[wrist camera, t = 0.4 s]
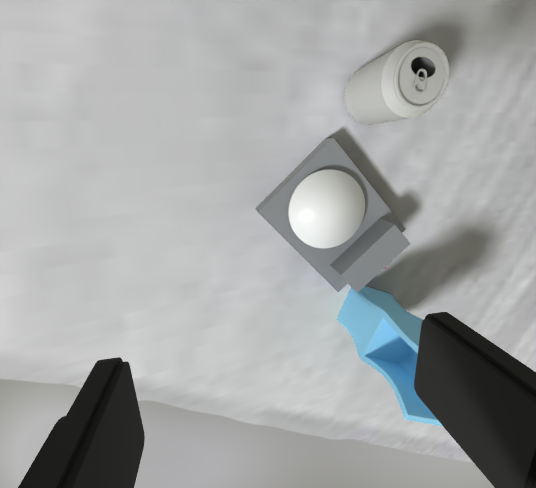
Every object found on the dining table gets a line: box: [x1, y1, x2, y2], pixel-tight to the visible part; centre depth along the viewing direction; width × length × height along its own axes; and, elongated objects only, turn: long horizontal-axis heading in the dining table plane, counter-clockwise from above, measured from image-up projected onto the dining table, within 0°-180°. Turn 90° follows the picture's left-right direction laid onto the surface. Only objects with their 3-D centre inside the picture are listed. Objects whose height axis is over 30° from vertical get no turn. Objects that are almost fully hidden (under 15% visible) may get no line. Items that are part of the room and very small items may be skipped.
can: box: [344, 40, 450, 125], centre depth 36 cm, size 8×8×12 cm
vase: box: [337, 286, 443, 426], centre depth 42 cm, size 8×8×20 cm
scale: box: [256, 138, 410, 293], centre depth 42 cm, size 18×14×7 cm
